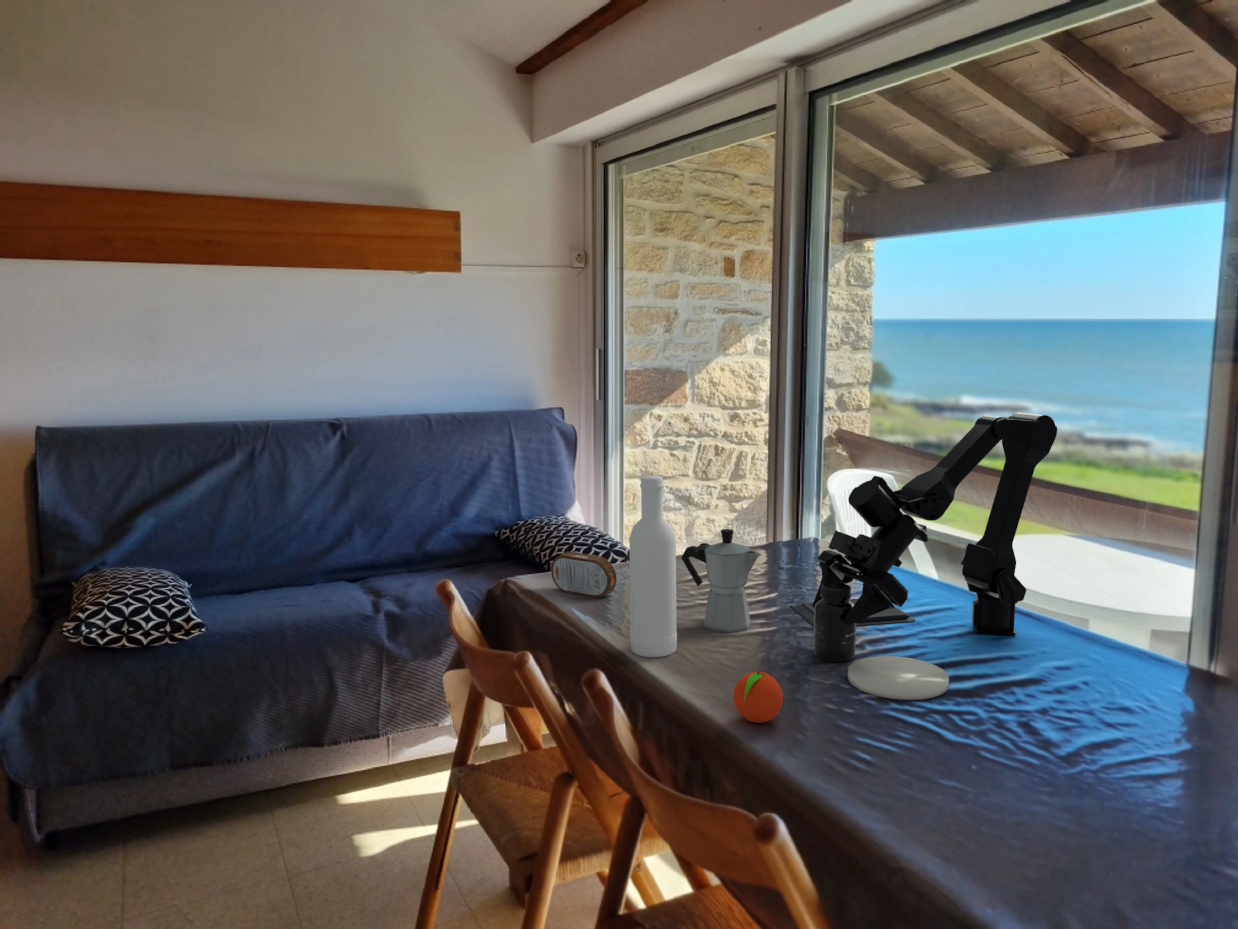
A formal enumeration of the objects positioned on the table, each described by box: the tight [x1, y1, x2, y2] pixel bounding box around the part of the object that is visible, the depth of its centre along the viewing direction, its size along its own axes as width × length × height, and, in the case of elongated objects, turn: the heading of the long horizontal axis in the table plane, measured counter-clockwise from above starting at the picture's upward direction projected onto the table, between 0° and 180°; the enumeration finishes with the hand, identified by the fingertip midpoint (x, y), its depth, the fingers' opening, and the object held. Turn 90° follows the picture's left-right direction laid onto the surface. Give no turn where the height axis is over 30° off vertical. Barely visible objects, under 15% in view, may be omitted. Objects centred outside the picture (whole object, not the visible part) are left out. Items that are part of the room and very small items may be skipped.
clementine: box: [732, 671, 784, 724], centre depth 132 cm, size 8×7×7 cm
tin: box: [550, 551, 618, 599], centre depth 195 cm, size 15×3×8 cm, turn 58°
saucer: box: [847, 655, 950, 701], centre depth 146 cm, size 15×15×1 cm
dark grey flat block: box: [789, 598, 916, 628], centre depth 180 cm, size 20×2×15 cm
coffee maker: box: [680, 528, 762, 634], centre depth 173 cm, size 15×9×18 cm, turn 71°
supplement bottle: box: [813, 583, 857, 663], centre depth 157 cm, size 7×7×12 cm
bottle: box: [629, 474, 678, 658], centre depth 160 cm, size 8×8×30 cm
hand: (829, 616), depth 156 cm, fingers open, 9 cm apart
